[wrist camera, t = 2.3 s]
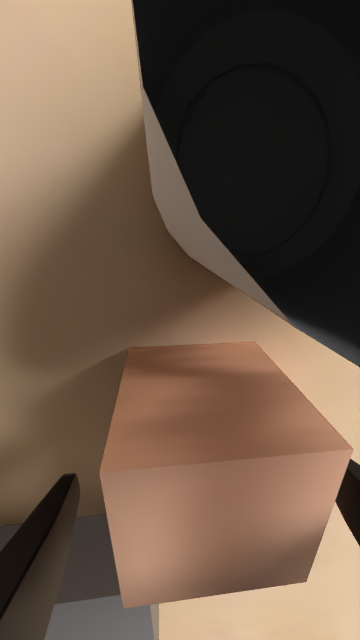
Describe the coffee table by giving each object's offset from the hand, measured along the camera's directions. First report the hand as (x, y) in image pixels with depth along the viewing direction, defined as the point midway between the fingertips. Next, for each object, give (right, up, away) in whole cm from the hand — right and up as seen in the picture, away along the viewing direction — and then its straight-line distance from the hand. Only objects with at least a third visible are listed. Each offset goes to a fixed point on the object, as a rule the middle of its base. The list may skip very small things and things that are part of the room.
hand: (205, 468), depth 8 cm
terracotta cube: (0, +1, +4) cm, 4 cm away
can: (+2, +11, 0) cm, 11 cm away
